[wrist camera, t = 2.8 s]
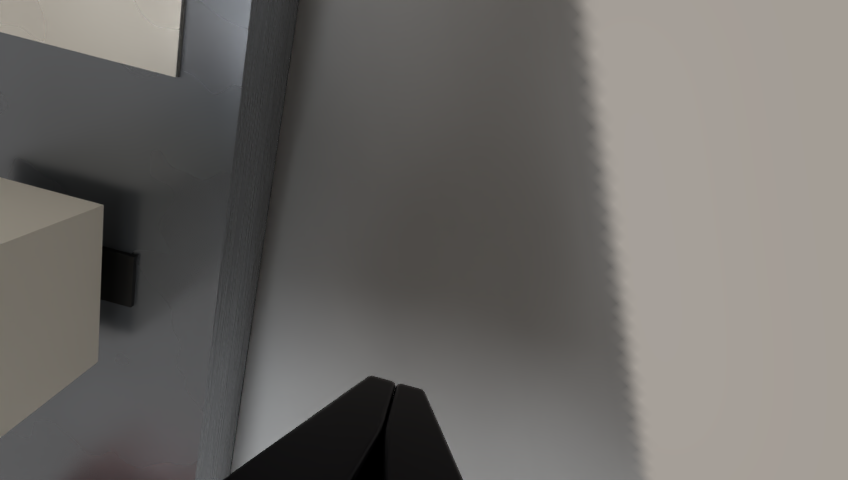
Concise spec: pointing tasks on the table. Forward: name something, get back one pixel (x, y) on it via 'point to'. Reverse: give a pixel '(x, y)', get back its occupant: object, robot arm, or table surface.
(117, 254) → the panel
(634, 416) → the table surface
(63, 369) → the fader
